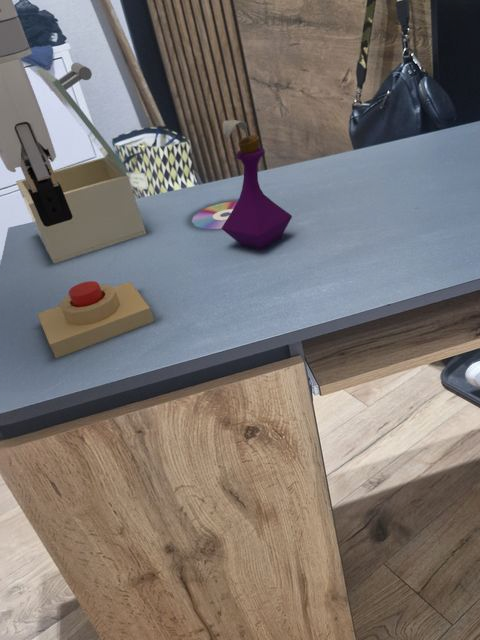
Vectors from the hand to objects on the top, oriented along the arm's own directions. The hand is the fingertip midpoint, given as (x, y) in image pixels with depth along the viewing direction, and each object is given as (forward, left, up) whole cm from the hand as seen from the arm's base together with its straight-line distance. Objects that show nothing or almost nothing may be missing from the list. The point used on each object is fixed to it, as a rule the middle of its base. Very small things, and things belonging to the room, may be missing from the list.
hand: (57, 220), depth 72 cm
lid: (+10, +31, +3) cm, 32 cm away
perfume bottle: (+26, +7, -14) cm, 30 cm away
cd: (+26, +21, -14) cm, 36 cm away
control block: (0, 0, -14) cm, 14 cm away
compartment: (+6, +31, -14) cm, 34 cm away
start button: (0, 0, -11) cm, 11 cm away
